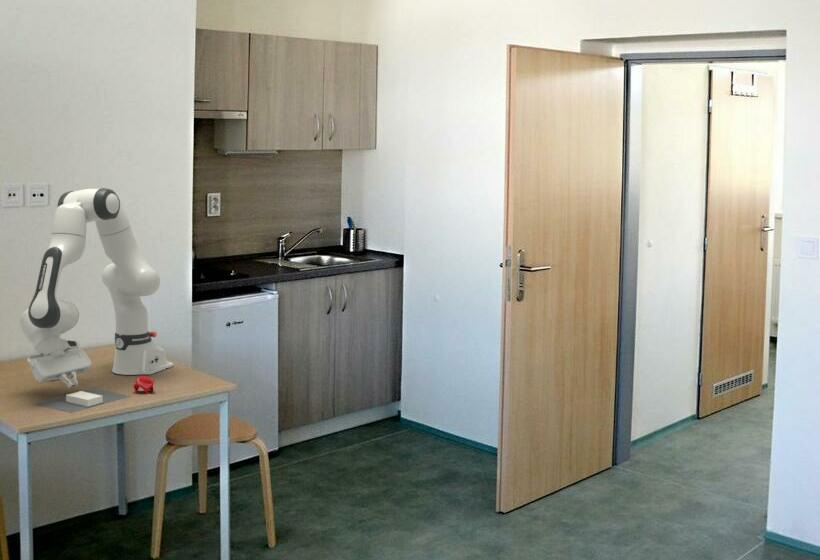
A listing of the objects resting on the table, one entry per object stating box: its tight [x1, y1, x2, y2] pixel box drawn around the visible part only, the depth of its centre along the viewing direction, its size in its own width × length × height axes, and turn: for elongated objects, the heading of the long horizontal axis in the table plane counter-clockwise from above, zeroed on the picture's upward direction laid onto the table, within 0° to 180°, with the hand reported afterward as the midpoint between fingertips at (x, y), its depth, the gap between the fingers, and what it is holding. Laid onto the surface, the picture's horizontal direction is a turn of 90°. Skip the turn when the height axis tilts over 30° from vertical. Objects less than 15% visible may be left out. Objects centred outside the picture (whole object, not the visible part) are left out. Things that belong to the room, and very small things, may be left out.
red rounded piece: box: [133, 375, 154, 394], centre depth 341 cm, size 8×6×6 cm
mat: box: [33, 387, 131, 414], centre depth 330 cm, size 24×18×1 cm
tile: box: [65, 390, 103, 407], centre depth 326 cm, size 6×2×10 cm
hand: (73, 385), depth 328 cm, fingers closed
